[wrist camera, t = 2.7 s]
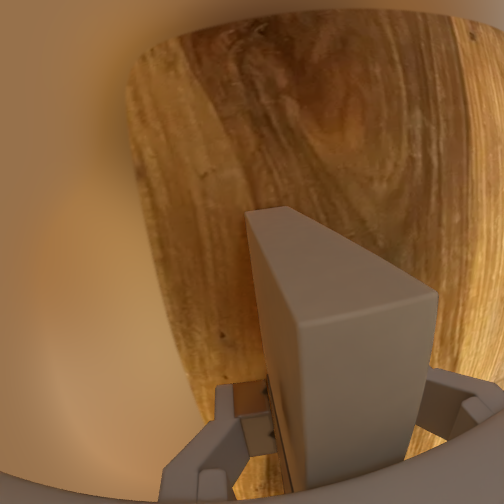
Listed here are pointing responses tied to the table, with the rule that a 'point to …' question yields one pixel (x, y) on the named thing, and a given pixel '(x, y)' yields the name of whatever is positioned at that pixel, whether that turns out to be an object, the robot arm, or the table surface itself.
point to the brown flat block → (338, 346)
